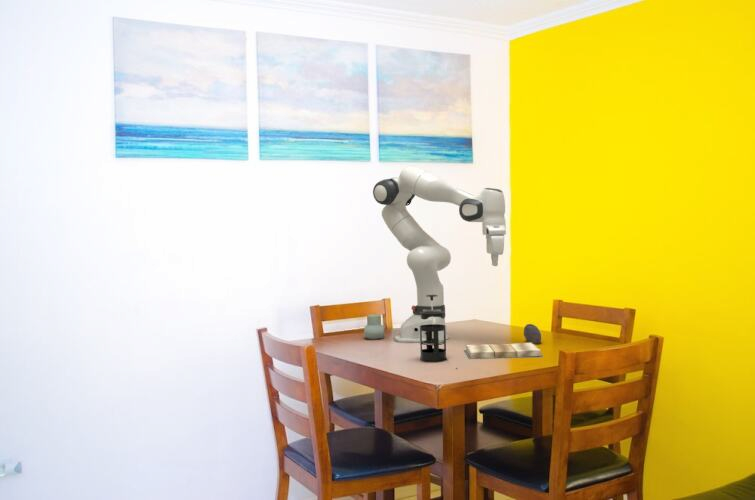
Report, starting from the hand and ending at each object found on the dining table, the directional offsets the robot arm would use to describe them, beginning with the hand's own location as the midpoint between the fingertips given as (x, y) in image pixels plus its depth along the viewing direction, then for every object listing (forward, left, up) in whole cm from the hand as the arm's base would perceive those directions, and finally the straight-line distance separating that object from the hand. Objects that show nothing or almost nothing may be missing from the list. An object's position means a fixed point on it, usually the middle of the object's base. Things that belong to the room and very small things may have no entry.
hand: (494, 265), depth 270 cm
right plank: (+7, -20, -30) cm, 37 cm away
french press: (-26, -24, -31) cm, 47 cm away
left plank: (-9, -20, -30) cm, 37 cm away
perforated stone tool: (+15, +4, -31) cm, 35 cm away
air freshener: (-48, +27, -31) cm, 63 cm away
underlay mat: (-1, -20, -31) cm, 37 cm away
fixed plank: (-1, -20, -30) cm, 36 cm away
